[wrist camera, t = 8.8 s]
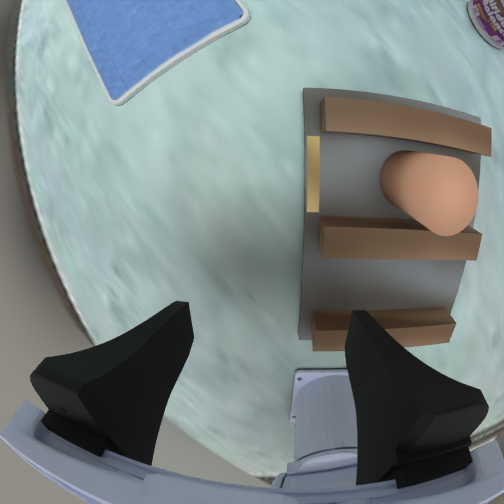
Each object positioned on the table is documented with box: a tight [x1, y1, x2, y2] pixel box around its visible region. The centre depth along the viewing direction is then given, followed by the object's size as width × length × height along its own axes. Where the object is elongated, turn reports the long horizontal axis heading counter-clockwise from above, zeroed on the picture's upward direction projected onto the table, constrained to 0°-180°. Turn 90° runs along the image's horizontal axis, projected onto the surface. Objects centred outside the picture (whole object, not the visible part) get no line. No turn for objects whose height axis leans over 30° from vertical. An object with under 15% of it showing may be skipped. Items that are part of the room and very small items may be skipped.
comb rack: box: [298, 88, 491, 351], centre depth 17 cm, size 19×14×4 cm
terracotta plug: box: [380, 150, 478, 236], centre depth 13 cm, size 4×4×6 cm
